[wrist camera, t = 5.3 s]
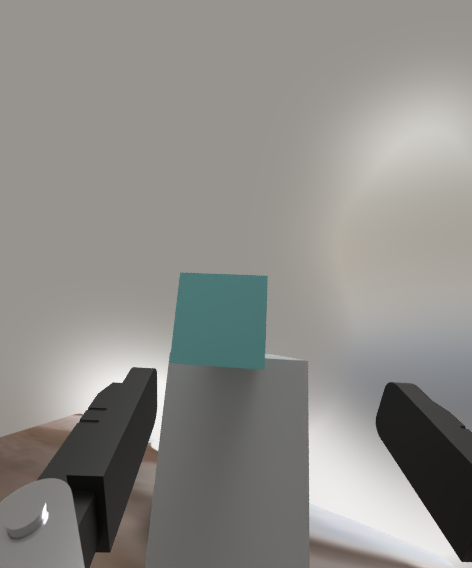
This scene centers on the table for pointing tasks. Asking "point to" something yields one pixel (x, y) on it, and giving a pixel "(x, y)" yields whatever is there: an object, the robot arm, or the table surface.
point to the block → (220, 321)
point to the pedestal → (232, 468)
